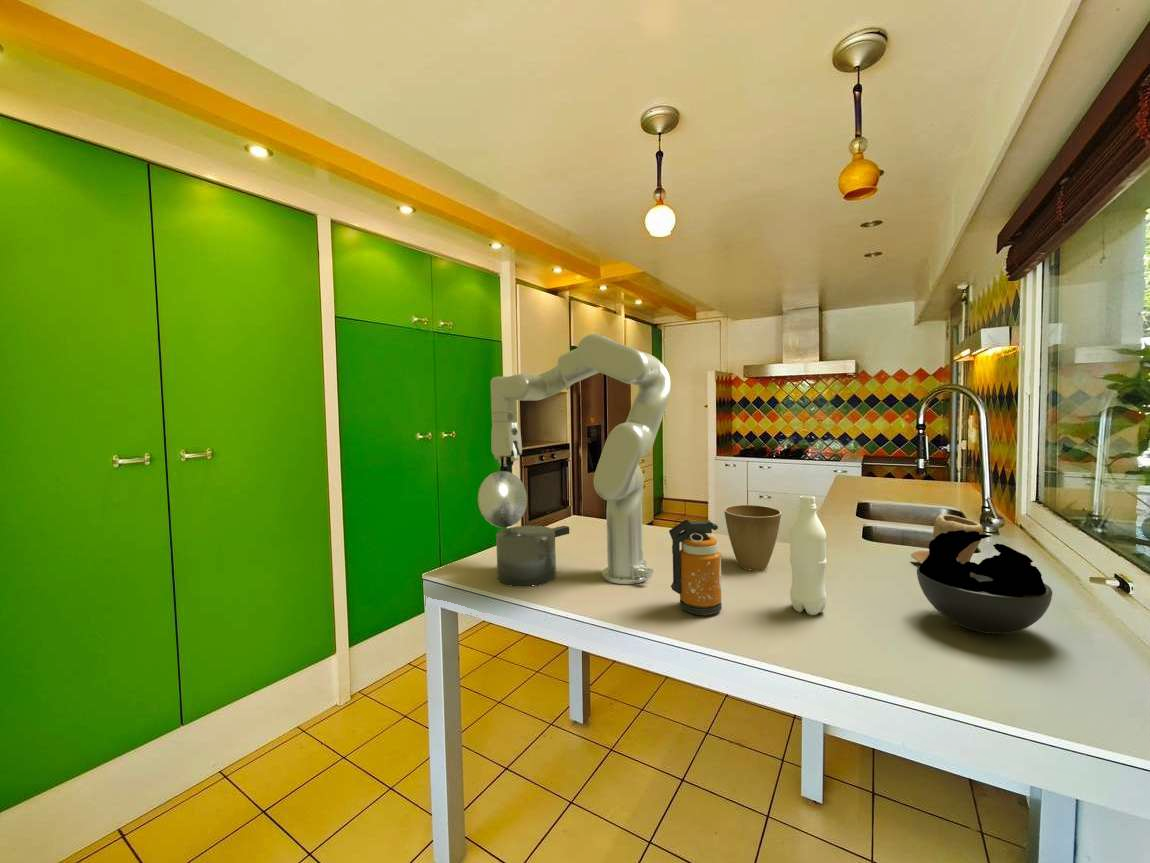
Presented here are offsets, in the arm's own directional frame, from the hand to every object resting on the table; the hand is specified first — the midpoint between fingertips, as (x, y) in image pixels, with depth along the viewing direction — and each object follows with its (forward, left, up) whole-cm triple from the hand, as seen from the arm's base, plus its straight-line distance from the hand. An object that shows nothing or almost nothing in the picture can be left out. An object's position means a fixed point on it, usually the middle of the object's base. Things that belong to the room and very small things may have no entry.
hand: (506, 479), depth 141 cm
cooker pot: (-13, +1, -25) cm, 28 cm away
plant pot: (-55, -44, -25) cm, 75 cm away
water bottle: (-77, -25, -25) cm, 85 cm away
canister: (-59, -9, -25) cm, 65 cm away
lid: (-4, +4, -5) cm, 8 cm away
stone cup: (-94, -74, -25) cm, 122 cm away
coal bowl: (-104, -39, -25) cm, 114 cm away
